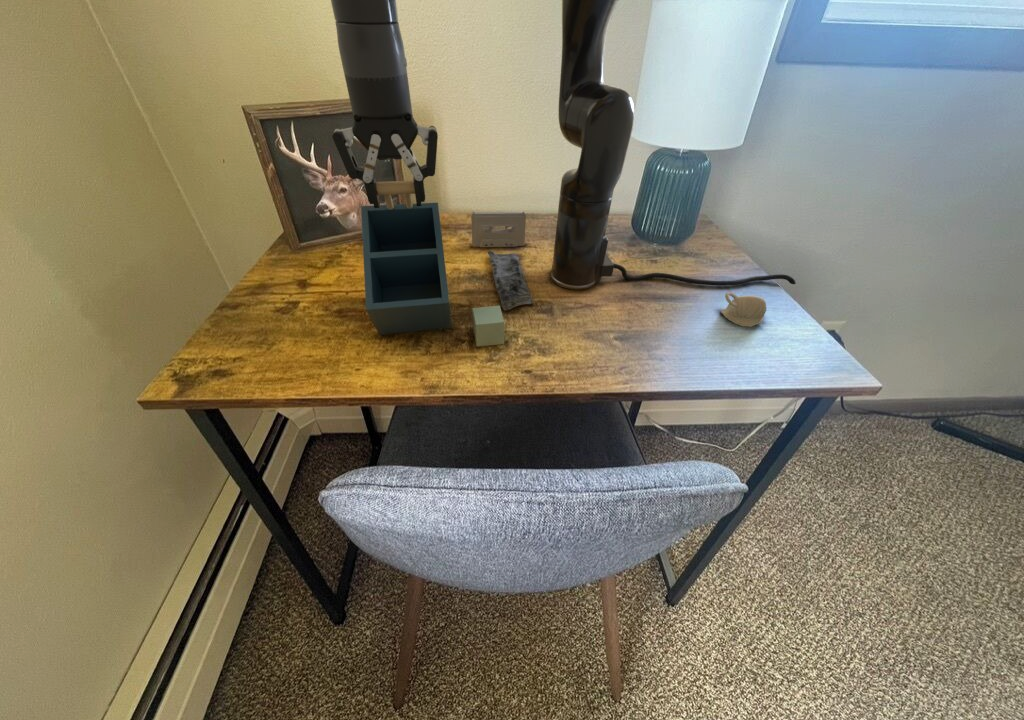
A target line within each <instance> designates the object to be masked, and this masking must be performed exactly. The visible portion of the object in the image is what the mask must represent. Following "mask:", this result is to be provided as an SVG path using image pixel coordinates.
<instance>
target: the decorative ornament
mask: <svg viewBox="0 0 1024 720" xmlns="http://www.w3.org/2000/svg"><path fill="white" fill-rule="evenodd" d="M724 297H725V300H726V302H727V303H728V304H727V306H726V308H725V309H722V310H720V313H721V314H722V315H723V316H724V317H725V318H726V319H727V320H728V321H730V322H732V323H734V324H735V325H738V326H741V327H747V328H748V327H749V328H751V327H754V326H756V325H757V326H758V325H759V324H760V323H762V322H763V321H764V317H765V314H766V312H767V302H766V300H765V299H764V298H763V297H761V296H759V295H758V296H756V295H742V296H737V295H736V294H735V293H734V292H730V291H728V292H725V295H724ZM730 297H731V298H733V299H732V300H731V298H730Z"/></svg>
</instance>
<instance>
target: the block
mask: <svg viewBox="0 0 1024 720" xmlns="http://www.w3.org/2000/svg"><path fill="white" fill-rule="evenodd" d="M501 309H502V308H501V305H491V306H479V307H472V308H471V310H472V313H471V314H472V329H473V336H474V340H475V346H476V347H477V348H479V347H486V346H496V345H504V344H505V320H504V316H503V313H502V310H501Z"/></svg>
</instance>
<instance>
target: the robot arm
mask: <svg viewBox="0 0 1024 720" xmlns="http://www.w3.org/2000/svg"><path fill="white" fill-rule="evenodd" d="M619 2H620V0H561V61H560V63H561V64H560V77H559V78H560V79H559V90H558V91H559V93H558V124H559V125H558V126H559V129H560V132H561V134H562V136H563V138H564V139H565V140H566V141H567V142H568V143H569V144H571V145H573V146H574V147H577V148H579V149H581V151H580V157H579V162H578V166H577V168H572V169H569V170H567V171H566V172H564V173H563V175H562V177H561V181H560V189H559V200H558V209H557V218H556V226H555V236H554V246H553V253H552V256H553V257H552V264H551V272H550V278H551V279H550V280H552V282H553V283H554V284H556V285H557V286H559V287H561V288H564V289H569V290H577V291H578V290H587V289H589V288H592V287H593V286H595V285H599V284H600V283H601V279H602V277H612V276H613V272H614V270H615V269H616V270H619V272H621V275H622V276H621V277H622V278H623V279H625V280H627V281H643V280H648V279H653V278H660V279H668V280H673V281H677V282H682V283H687V284H694V285H701V286H718V287H719V286H720V287H721V286H722V287H723V286H738V285H739V286H740V285H744V284H747V283H748V284H749V283H752V282H759V281H761V282H763V281H771V280H785V281H787V282H788V283H789V284H790V285H796V280H795V279H794V278H793V276H790V275H788V274H782V273H781V274H780V273H779V274H778V273H777V274H767V275H759V276H758V275H757V276H756V275H755V276H751V277H747V278H746V277H745V278H742V279H736V280H735V279H734V280H708V279H698V278H697V279H696V278H690V277H685V276H680V275H675V274H671V273H666V272H665V273H664V272H651V273H646V274H642V275H641V274H640V275H636V276H635V275H634V276H633V275H630V274H628V273H627V269H626V268H625V267H624V266H623V265H621V264H618V263H615V262H613V261H612V260H611V258H610V257H609V256H608V254H607V248H608V244H609V238H608V237H607V235H606V231H607V226H608V221H609V216H610V211H611V206H612V200H613V195H614V192H615V188H616V186H617V184H618V182H619V181H620V178H621V177H622V173H623V170H624V167H625V162H626V158H627V154H628V150H629V147H630V143H631V139H632V134H633V130H634V124H635V114H636V113H635V112H636V111H635V103H634V100H633V98H632V95H631V94H630V93H629V92H628V91H627V90H625V89H623V88H621V87H617V86H614V85H611V84H607V83H605V81H604V62H605V61H604V60H605V47H606V41H607V40H606V39H607V34H608V32H609V27H610V25H611V21H612V18H613V16H614V14H615V11H616V9H617V6H618V4H619ZM330 4H331V8H332V13H333V18H334V21H335V29H336V36H337V37H336V38H337V46H338V52H339V56H340V60H341V65H342V70H343V75H344V80H345V84H346V88H347V92H348V98H349V103H350V107H351V112H352V116H353V123H352V126H350V127H345V128H342V127H338V126H337V127H336V128H335V129H334V131H333V133H332V136H331V137H332V140H333V142H334V145H335V147H336V149H337V151H338V154H339V156H340V159H341V161H342V163H343V166H344V168H345V170H346V172H347V175H348V177H349V178H350V179H352V180H360V181H362V183H363V184H364V188H365V193H366V198H367V201H368V203H369V205H373V206H374V208H380V205H381V200H380V195H378V194H377V190H376V182H377V180H376V178H375V177H374V172H375V168H376V164H377V159H378V161H384V160H388V159H393V160H403V162H404V163H405V165H406V167H407V168H408V169H409V171H410V173H411V175H412V176H413V178H412V179H413V180H412V181H413V182H414V189H415V194H414V195H415V201H416V202H415V204H417V206H421V203H425V202H426V194H425V193H426V192H425V182H424V181H425V179H426V178H428V177H434V176H435V174H436V166H437V165H436V164H437V154H438V153H437V151H438V140H439V139H438V137H439V135H438V130H437V127H436V126H434V125H430V126H429V127H427V126H422V125H418V124H417V122H416V120H415V118H414V115H413V109H412V100H411V93H410V83H409V77H408V68H407V66H408V63H407V62H408V61H407V59H406V58H407V57H406V54H405V46H404V41H403V37H402V33H401V29H400V23H399V16H398V7H397V0H330ZM417 136H419V137H420V138H421V143H422V145H424V146H426V161H425V162H426V163H425V164H423V165H421V164H420V163H419V161H418V160H417V158H416V154H415V153H414V151H413V149H412V146H413V144H414V142H415V140H416V139H417ZM354 137H355V139H357V141H359V143H360V144H361V145H362V146H363V148H365V149H366V150H367V155H366V156H367V157H366V161H365V166H364V168H363V167H361V166H359V165H358V162H357V160H356V158H355V155H354V152H353V150H352V148H351V147H352V146H353V144H354V140H353V138H354Z"/></svg>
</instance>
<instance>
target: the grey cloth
mask: <svg viewBox="0 0 1024 720" xmlns="http://www.w3.org/2000/svg"><path fill="white" fill-rule="evenodd" d="M486 253H487V254H488V256H489V262H490V264H491V268H492V274H493V280H494V284H495V288H496V291H497V294H498V297H499V299H500V306H501V308H502V309H503V311H510V310H513V308H515V307H518V306H521V305H522V306H523V305H531V304H534V303H535V300H534V298H533V296H532V294H531V291H530V288H529V287H528V284H527V280H526V278H525V274H524V272H523V266H522V264H521V262H520V260H521V259H520V256H519V255H518V254H516V253H505V254H504V253H496V252H494V251H493V250H488V251H487V252H486Z"/></svg>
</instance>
